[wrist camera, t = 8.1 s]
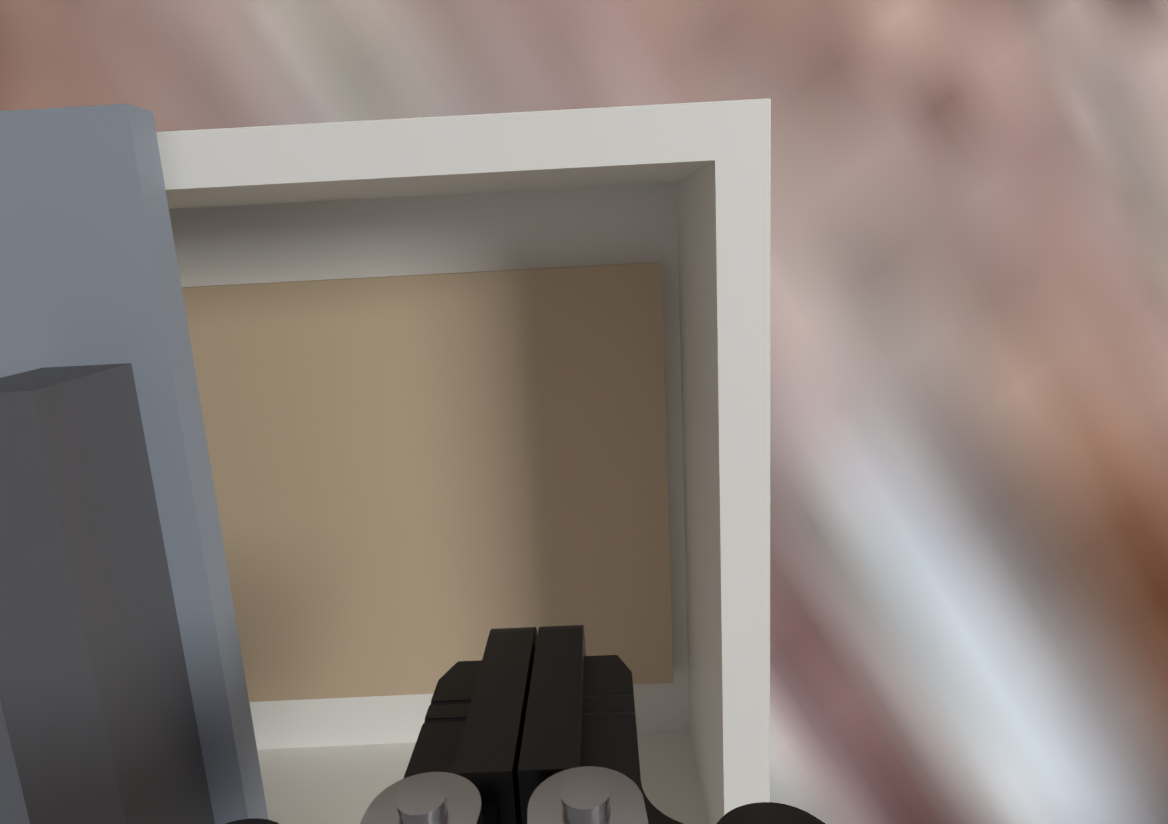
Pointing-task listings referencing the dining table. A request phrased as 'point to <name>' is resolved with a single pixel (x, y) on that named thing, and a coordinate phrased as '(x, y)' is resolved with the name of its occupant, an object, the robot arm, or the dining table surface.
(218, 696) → the lid
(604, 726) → the robot arm
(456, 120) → the box
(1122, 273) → the dining table surface
